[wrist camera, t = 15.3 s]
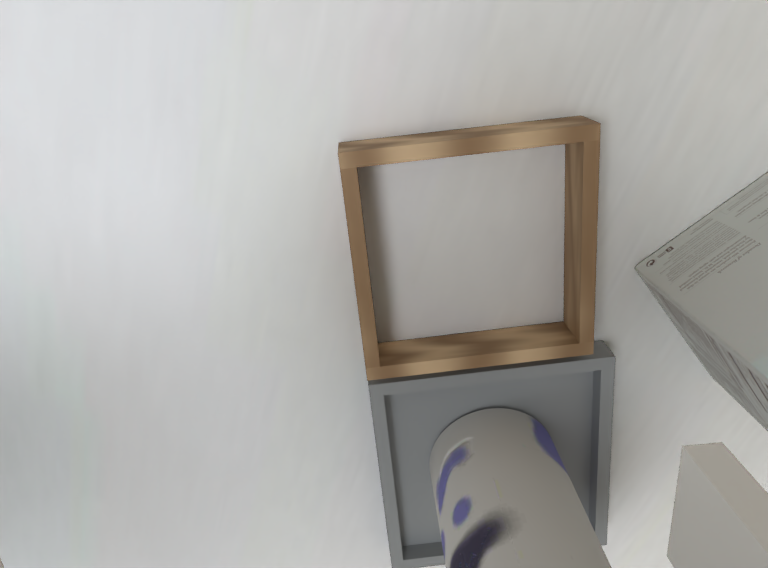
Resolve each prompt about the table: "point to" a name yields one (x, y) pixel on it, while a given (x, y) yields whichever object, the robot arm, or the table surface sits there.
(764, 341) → the supplement box
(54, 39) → the table surface
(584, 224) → the frame
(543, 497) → the container
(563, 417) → the tray
